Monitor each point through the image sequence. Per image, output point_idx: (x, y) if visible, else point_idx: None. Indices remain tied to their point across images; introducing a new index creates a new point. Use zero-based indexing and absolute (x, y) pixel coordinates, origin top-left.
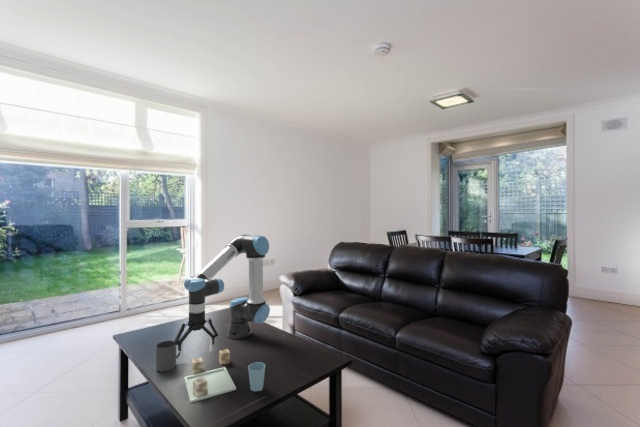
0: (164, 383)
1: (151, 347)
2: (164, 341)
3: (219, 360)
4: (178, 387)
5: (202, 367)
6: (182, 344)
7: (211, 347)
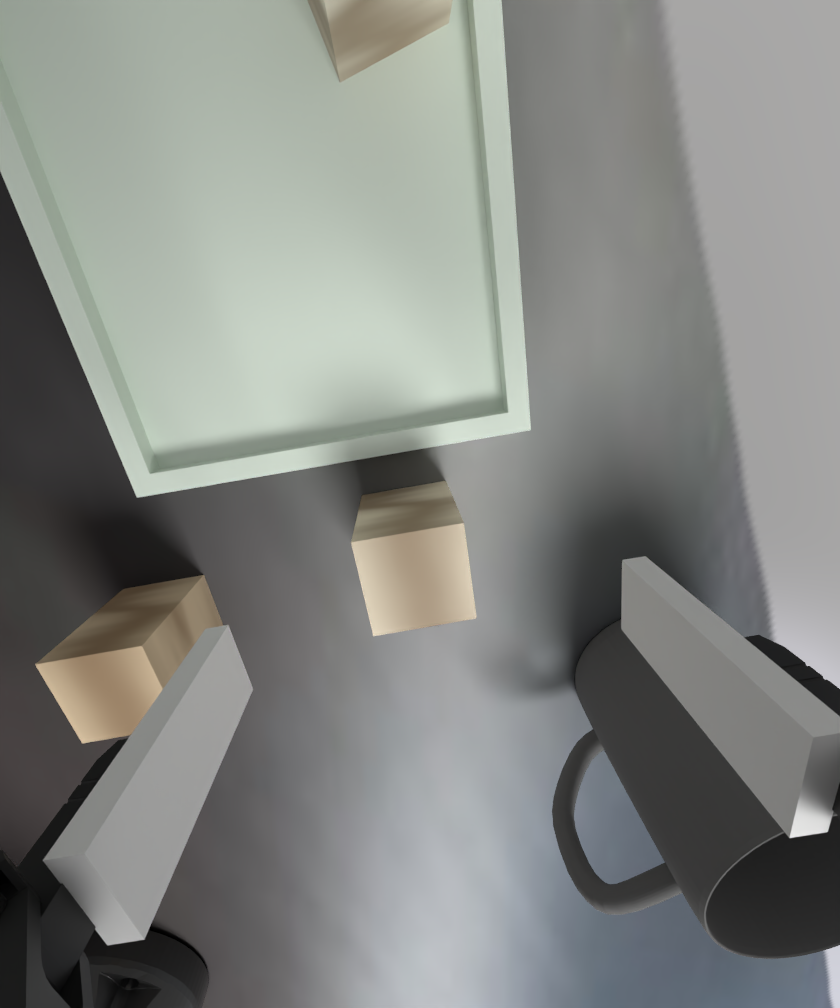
0: (678, 426)
1: (695, 919)
2: (811, 950)
3: None
4: (575, 303)
5: (360, 513)
6: (823, 737)
7: (180, 679)
